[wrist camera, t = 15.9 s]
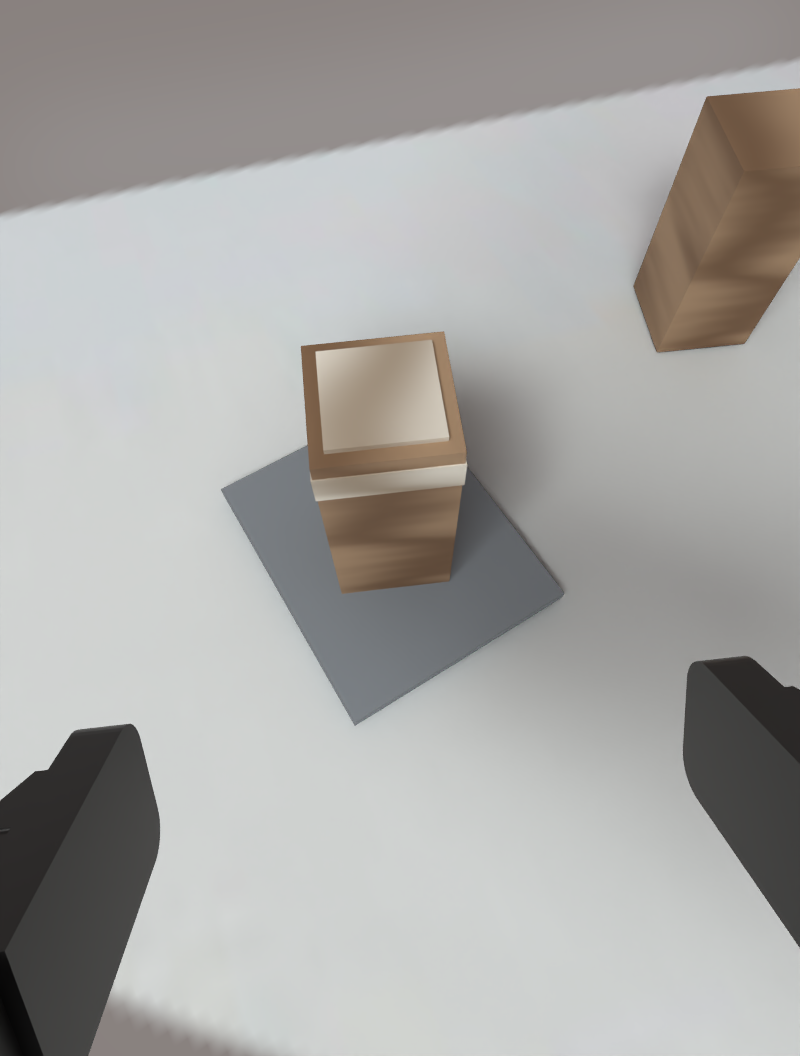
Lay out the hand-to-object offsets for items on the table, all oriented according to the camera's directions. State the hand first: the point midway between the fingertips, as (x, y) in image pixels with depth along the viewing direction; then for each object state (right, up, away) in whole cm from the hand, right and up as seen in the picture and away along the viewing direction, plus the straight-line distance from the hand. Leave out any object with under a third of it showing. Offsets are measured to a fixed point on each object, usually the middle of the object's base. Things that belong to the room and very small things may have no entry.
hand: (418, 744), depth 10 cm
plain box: (+15, +14, +25) cm, 33 cm away
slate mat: (-1, +2, +20) cm, 20 cm away
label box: (-1, +3, +19) cm, 20 cm away
